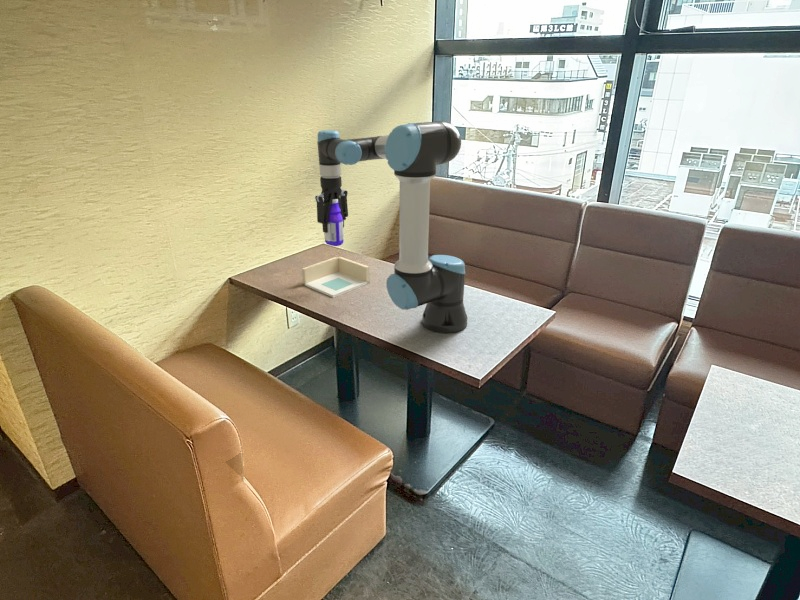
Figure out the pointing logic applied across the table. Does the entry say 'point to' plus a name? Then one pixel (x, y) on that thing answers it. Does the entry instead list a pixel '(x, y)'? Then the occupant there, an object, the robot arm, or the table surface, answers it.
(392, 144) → the robot arm
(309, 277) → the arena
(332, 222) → the bottle
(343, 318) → the table surface
